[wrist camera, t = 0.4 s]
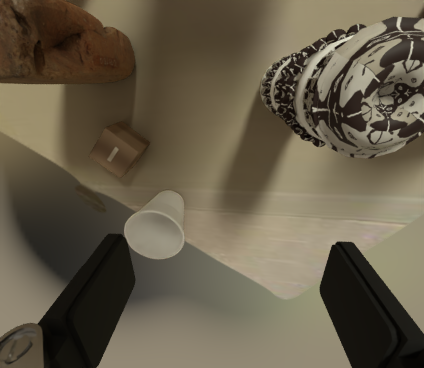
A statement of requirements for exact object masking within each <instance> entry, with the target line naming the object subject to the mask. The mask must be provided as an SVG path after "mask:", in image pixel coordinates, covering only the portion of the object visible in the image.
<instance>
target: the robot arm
mask: <svg viewBox="0 0 424 368" xmlns="http://www.w3.org/2000/svg"><path fill="white" fill-rule="evenodd" d="M134 285H135V275H134V271H133V266H132V261H131V258H130V253H129V248H128V244H127V239H126V238H125V237H123V235H122V234H108V235H107V236H106V237H105V238H104V240H103V241H102V242H101V244H100V245H99V246H98V247H97V249H96V250H95V251H94V253H93V254H92V255H91V256H90V258H89V259H88V261H87V262H86V263H85V264H84V265H83V266H82V267H81V269H80V270H79V271H78V272H77V274H76V275H75V276H74V277H73V279H72V280H71V281H70V283H69V284H68V285H67V287H66V288H65V289H64V291H63V292H62V293H61V294H60V296H59V297H58V298H57V299H56V301H55V302H54V303H53V305H52V306H51V307H50V308H49V310H48V311H47V312H46V314H45V315H44V316H43V318H42V319H41V320H40V322H39V323H38V324H35V323H27V324H23V325H20V326H17V327H15V328H13V329H12V330H10V331H8V332H7V333H5V334H4V335H3V336H2V337H0V368H96V367H97V366H98V365H99V363H100V361H101V359H102V357H103V354H104V352H105V350H106V347H107V345H108V343H109V341H110V338H111V336H112V334H113V332H114V330H115V328H116V325H117V323H118V321H119V318H120V316H121V314H122V312H123V310H124V308H125V305H126V303H127V301H128V299H129V296H130V294H131V292H132V290H133V287H134ZM320 294H321V297H322V299H323V301H324V304H325V306H326V308H327V311H328V313H329V316H330V318H331V320H332V322H333V325H334V327H335V329H336V332H337V334H338V336H339V339H340V341H341V343H342V346H343V348H344V350H345V353H346V355H347V357H348V359H349V362H350V364H351V366H352V368H424V334H423V332H422V331H421V330H420V328H419V327H418V326H417V324H416V323H415V322H414V321H413V319H412V318H411V317H410V316H409V314H408V313H407V312H406V310H405V309H404V308H403V306H402V305H401V304H400V303H399V301H398V300H397V299H396V297H395V296H394V295H393V294H392V292H391V291H390V290H389V288H388V287H387V286H386V284H385V283H384V282H383V280H382V279H381V278H380V277H379V275H378V274H377V273H376V271H375V270H374V269H373V268H372V266H371V265H370V264H369V262H368V261H367V260H366V258H365V257H364V256H363V255H362V253H361V252H360V251H359V249H358V248H357V247H356V245H355V244H354V243H352V242H336V244H335V245H332V247H331V250H330V254H329V257H328V260H327V264H326V267H325V271H324V274H323V277H322V281H321V284H320Z"/></svg>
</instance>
